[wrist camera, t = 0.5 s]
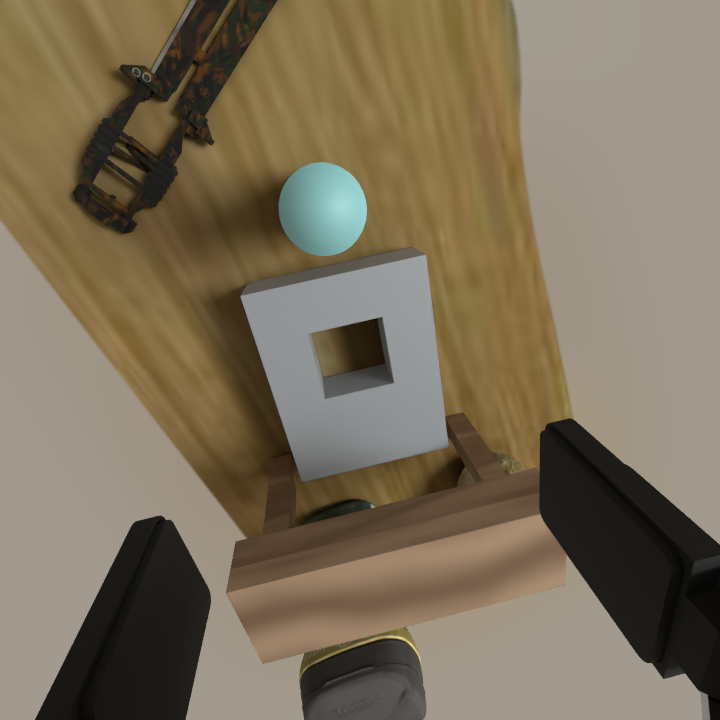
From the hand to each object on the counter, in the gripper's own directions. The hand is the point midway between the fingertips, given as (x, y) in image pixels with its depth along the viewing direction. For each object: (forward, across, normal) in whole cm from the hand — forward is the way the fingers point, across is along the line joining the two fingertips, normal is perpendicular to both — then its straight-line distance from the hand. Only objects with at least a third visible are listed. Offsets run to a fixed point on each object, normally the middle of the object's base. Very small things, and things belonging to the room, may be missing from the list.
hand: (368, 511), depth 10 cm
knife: (+26, +5, -16) cm, 31 cm away
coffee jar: (+26, +4, +28) cm, 38 cm away
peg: (+26, -1, -6) cm, 27 cm away
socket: (+26, -1, +8) cm, 27 cm away
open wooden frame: (+26, -1, +15) cm, 30 cm away
